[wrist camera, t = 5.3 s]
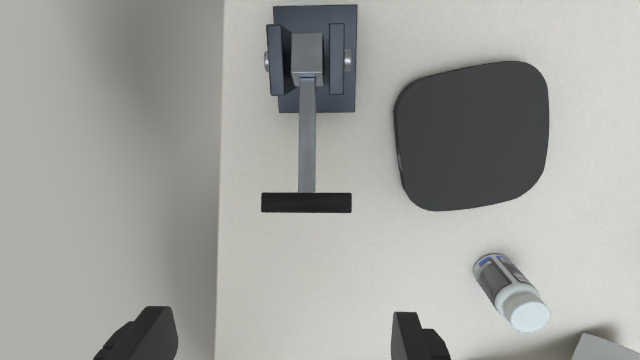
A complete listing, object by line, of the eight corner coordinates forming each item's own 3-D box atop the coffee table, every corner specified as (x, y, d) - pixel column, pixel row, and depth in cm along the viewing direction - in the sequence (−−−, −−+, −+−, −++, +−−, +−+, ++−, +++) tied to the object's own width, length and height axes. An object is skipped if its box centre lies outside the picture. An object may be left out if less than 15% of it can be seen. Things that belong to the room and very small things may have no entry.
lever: (350, 212, 22) (352, 213, 20) (266, 212, 23) (258, 212, 20) (349, 49, 24) (351, 32, 21) (269, 51, 24) (262, 33, 21)
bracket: (354, 110, 34) (364, 136, 22) (280, 111, 35) (252, 136, 23) (356, 6, 31) (370, -30, 19) (275, 8, 31) (237, -27, 19)
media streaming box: (531, 187, 36) (547, 197, 34) (403, 207, 38) (408, 219, 35) (534, 53, 31) (554, 52, 29) (388, 83, 33) (393, 84, 30)
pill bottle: (475, 287, 41) (508, 339, 33) (470, 257, 40) (503, 305, 32) (513, 279, 41) (556, 330, 33) (509, 248, 39) (553, 295, 31)
